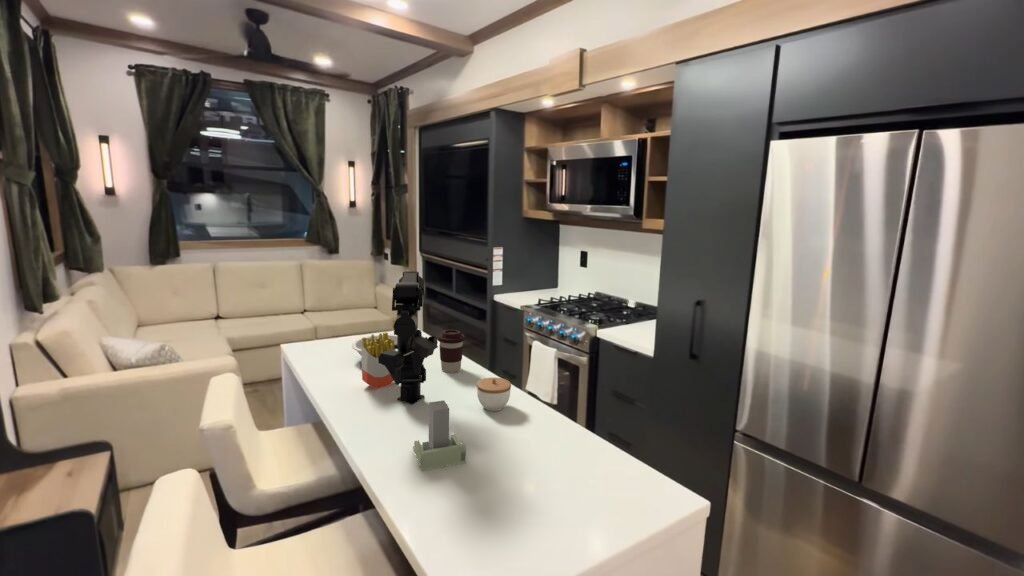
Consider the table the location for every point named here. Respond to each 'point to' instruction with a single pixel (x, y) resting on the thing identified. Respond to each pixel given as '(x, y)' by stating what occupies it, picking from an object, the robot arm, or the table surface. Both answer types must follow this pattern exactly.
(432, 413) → the grey pillar on base
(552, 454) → the table surface
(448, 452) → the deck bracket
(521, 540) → the table surface
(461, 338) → the coffee cup
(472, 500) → the table surface
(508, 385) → the lidded jar
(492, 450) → the table surface
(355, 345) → the soup bowl
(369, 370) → the french fries container
